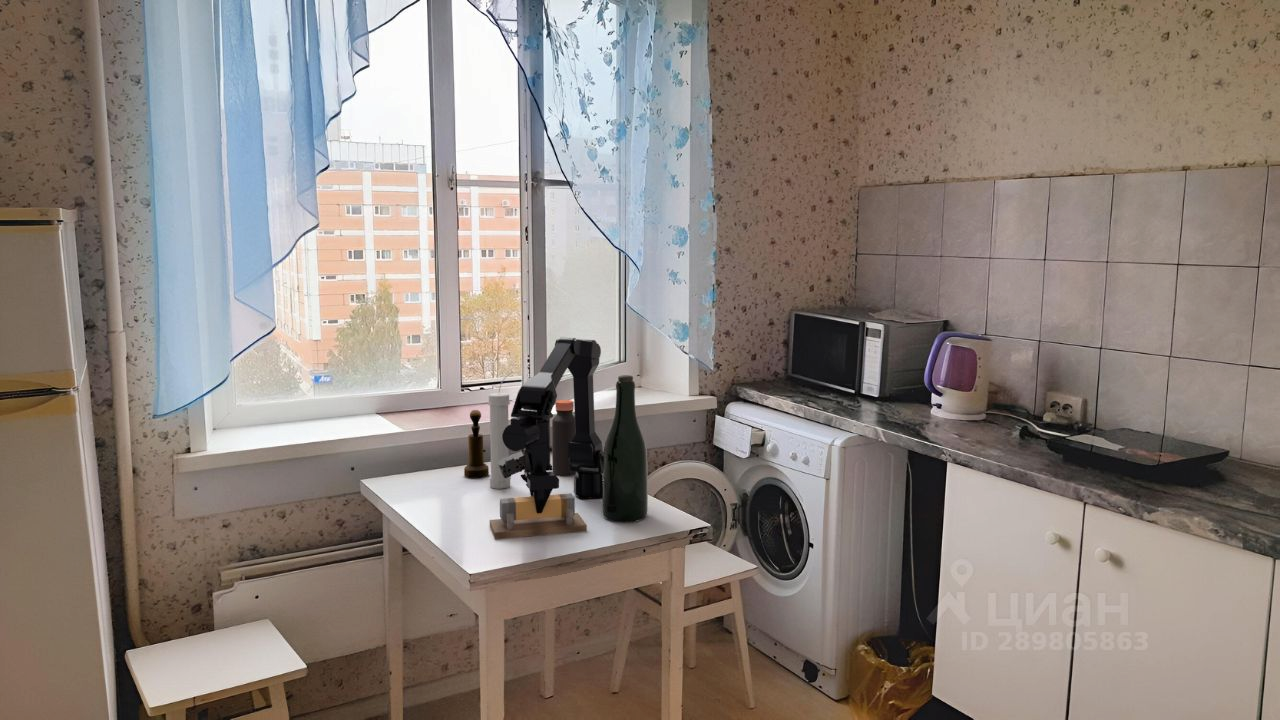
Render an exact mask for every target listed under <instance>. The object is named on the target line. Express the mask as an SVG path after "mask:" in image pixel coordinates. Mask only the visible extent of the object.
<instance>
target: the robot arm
mask: <svg viewBox="0 0 1280 720" xmlns="http://www.w3.org/2000/svg"><path fill="white" fill-rule="evenodd" d="M601 353H602V350H601V346H600V344H599V343H598V342H597V341H596V340H595V339H580V338H579V339H578V338H575V337H565V336H564V337H563V336H562V337H559V338H558V337H557V338H556V341H555V343H554V346H553V348H552V350H551V352H550V354H549V356H548V357H547V358H546V360H545V361H544V363H543V365H542V367H541V368H540V369H539V371H538V373H537V374H535V375H533V376H531V377H529V378H528V379H526V381H525V382H524V383H523V384H522V385H521V387H520V388H519V389H518V392H517V394H516V397H515V401H514V404H513V407H512V411H511V413H510V417H511V418H510V424H508V426H507V427H506V428H505V430H504V432H503V434H502V439H503V442H504V444H505V446H506V447H507V448H508V449H509V451H513V452H515V453H512V454H509V456H507V457H505V458H503V459H500V460H498V461H497V463H498V465H499V468H500V470H501V473H502V475H503V477H504V478H508V477H511V478H512V476H513V475H516V474H517V473H522V471H523V474H520V478H521V479H522V480H523V481H524V482H525V485H526V487H527V489H528V490H529V494H530V496H534V502H535V507H536V512H537V513H542V511H543V509H544V507H545V505H546V502H547V500H548V498H549V496H550V495H552V494H551V493H552V492H553V490H555V489H559V488H560V479H559V477H558V475H555V474H554V473H553V464H552V463H551V453H552V445H551V419H553V418H554V413H553V412H552V410H553V408H554V406H555V405H556V401H557V398H558V393H557V387H558V384H559V383H560V381H561V379H562V377H563V376H564V375H565V372H566V371H567V369H568V371H569V372H570V374H571V375H572V378H573V379H572V381H573V382H572V383H573V401H574V409H573V410H574V411H573V412H574V417H575V435H574V437H573V439H572V441H571V442H569V444H568V462H569V467H570V472H576V474H575V476H574V477H573V493H574V494H575V496H576V497H577V498H578V499H579V500H586V499H601V498H602V499H603V459H604V449H603V443H602V440H601V439H600V437H599V436H598V433H596V428H595V427H596V425H595V423H596V422H595V397H594V396H595V395H594V373H595V372H596V370H597V369H598V367H599V364H600V358H601V356H602V355H601Z"/></svg>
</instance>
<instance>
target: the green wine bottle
mask: <svg viewBox="0 0 1280 720" xmlns="http://www.w3.org/2000/svg"><path fill="white" fill-rule="evenodd" d="M615 390H616V391H615V392H616V394H615V395H616V397H615V399H616V401H615V408H614V409H615V410H614V416H613V420H612V424H611V426H610V429H609V432H608V434H607V437H606V439H605V442H604V447H603V452H604V459H603V497H602V516H603V517H604V518H605V519H607V520H609V521H611V522H616V523H633V522H638V521H641V520H644V519H645V518H646V517H647V516H648V510H649V509H648V507H649V506H648V505H649V501H648V500H649V497H648V496H649V495H648V493H649V490H648V482H649V481H648V480H649V479H648V452H647V451H648V450H647V445H646V440H645V437H644V436H643V435H644V434H643V432H642V429H641V426H640V424H639V421H638V417H637V411H636V410H637V409H636V397H635V396H636V382H635V381H634V376H633V375H630V374H629V375H628V374H627V375H626V374H622V375H618V379H617V381H616V383H615Z"/></svg>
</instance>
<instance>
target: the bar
mask: <svg viewBox="0 0 1280 720" xmlns="http://www.w3.org/2000/svg"><path fill="white" fill-rule="evenodd" d="M575 499H576V498H575V496H574V495H573V494H572V493H560V494H559V493H558V494H550V496H549V498H548V500H547V502H546V505H545V507H544V509H543V511H542V513H537V512H536V507H535V502H534V496H531V495H530V496H519V497H506V498H499V517H500V518H499V519H501V520H502V521H507V513H514V520H525V519H537V518H549V517H561V516H566V509H567V508H573V515H575V513H576V510H575V508H576V507H575V506H576V504H575V503H576V502H575V501H576V500H575Z"/></svg>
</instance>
